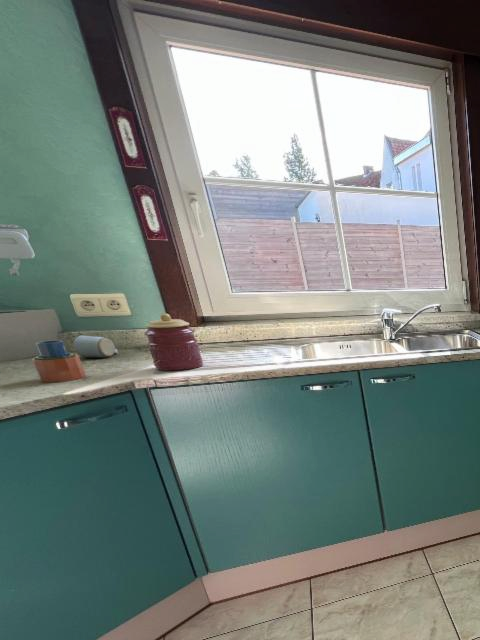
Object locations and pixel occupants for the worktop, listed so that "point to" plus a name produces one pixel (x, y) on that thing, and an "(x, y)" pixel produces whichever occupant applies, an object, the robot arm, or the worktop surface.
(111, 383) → the worktop surface
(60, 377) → the orange faceted bowl
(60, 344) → the dark blue cylinder
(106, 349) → the ceramic mug
